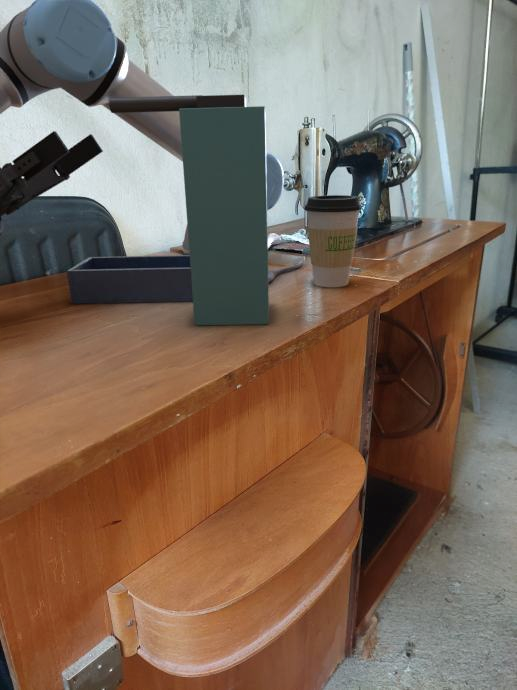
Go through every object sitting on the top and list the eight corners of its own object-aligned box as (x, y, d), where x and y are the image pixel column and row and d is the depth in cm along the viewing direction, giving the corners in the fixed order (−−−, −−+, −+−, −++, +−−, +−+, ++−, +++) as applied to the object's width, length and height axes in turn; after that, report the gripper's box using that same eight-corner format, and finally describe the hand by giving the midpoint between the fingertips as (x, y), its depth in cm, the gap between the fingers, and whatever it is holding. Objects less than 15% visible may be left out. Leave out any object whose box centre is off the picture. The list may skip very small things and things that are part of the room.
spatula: (270, 264, 108) (270, 251, 107) (251, 264, 108) (250, 251, 107) (281, 243, 134) (281, 232, 133) (266, 243, 134) (266, 232, 133)
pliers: (301, 257, 111) (301, 280, 92) (301, 261, 111) (301, 284, 92) (256, 258, 111) (247, 280, 93) (256, 262, 112) (247, 285, 93)
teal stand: (268, 305, 81) (265, 110, 71) (268, 324, 73) (264, 106, 63) (202, 307, 81) (189, 113, 71) (194, 325, 73) (178, 108, 63)
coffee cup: (357, 290, 88) (361, 200, 83) (300, 289, 90) (300, 200, 85) (359, 277, 97) (362, 194, 92) (307, 276, 99) (307, 195, 94)
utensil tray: (214, 284, 95) (213, 254, 93) (208, 301, 85) (206, 268, 83) (93, 286, 96) (88, 257, 94) (71, 303, 85) (66, 271, 83)
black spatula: (246, 110, 70) (245, 96, 69) (244, 107, 64) (244, 91, 64) (117, 114, 70) (116, 99, 70) (105, 111, 65) (103, 95, 64)
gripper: (19, 235, 86) (122, 165, 82) (-73, 267, 63) (63, 171, 58) (-11, 194, 84) (93, 120, 79) (-119, 212, 60) (20, 109, 56)
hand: (81, 142), depth 69 cm, fingers open, 13 cm apart
